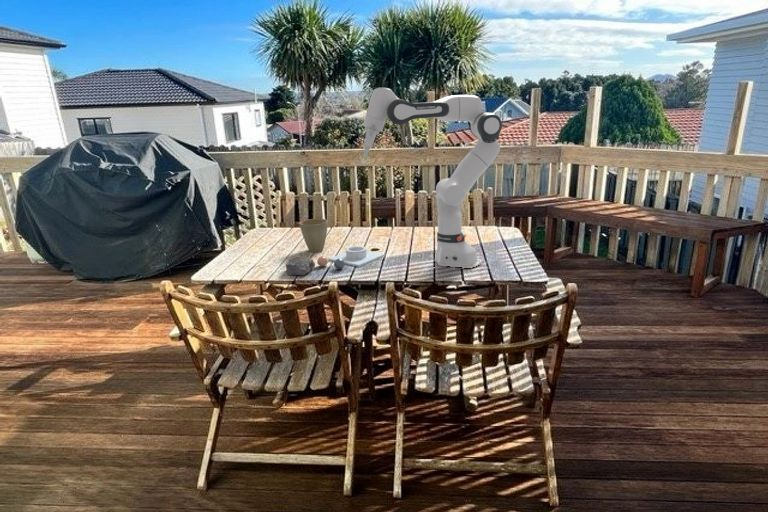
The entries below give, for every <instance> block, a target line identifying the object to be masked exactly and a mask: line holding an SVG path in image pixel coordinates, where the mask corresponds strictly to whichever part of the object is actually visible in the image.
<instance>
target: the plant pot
mask: <svg viewBox="0 0 768 512" xmlns="http://www.w3.org/2000/svg"><path fill="white" fill-rule="evenodd" d="M328 222H329V221H328V220H327V219H325V218H311V219H309V218H308V219H305V220H302V221H299V227H300V231H301V234H302V237H303V239H304V242H305V244H306V247H307V249H308V250H309V252H310V251H311V253H319V252H318V251H320V252H322V251H324V248H325V244H326V240H327V233H328Z"/></svg>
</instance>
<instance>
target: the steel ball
mask: <svg viewBox="0 0 768 512" xmlns="http://www.w3.org/2000/svg"><path fill="white" fill-rule="evenodd" d="M345 265H346V264H345V262H344V261H343V260H342V259H337V260H335V262H333V266H334V268H335V269H336V270H342V269H343V268H345Z"/></svg>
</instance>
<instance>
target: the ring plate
mask: <svg viewBox="0 0 768 512" xmlns="http://www.w3.org/2000/svg"><path fill="white" fill-rule="evenodd" d="M383 256H384V257H385V254H384V253H378V252H373V251H367V247H365V246H361V245H360V246H359V245H355V246H354V245H352V246H349V247H346V248H345V252H342V253H340V254H337V255H334V256H332V257H329V258H327V259H328V262H329V261H330V262H332V263H334V262H335V260H337V259H342V260H343V261H344V262H345V265H347V266H352V267H357V268H360V267H363V266H365V265H367V264H370V263H372V262H374V261H376V260H379V259H381V257H382V258H384V257H383Z"/></svg>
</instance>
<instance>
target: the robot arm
mask: <svg viewBox="0 0 768 512" xmlns="http://www.w3.org/2000/svg"><path fill="white" fill-rule="evenodd" d="M430 118H431V119H437V120H440V121H442V122H467V125H468V127H469V131H470V133H471V134H472V135H473V136H474V137H476V138H477V141H476V143H475V145H474V146H473V147H472V149H470V151H469V152H468V153H467V154H466V155H465V156H464V158H462V160H461V161H460V162H459V163H458V164H457V167H456V169H454V172H453V173H452V175H451V176H450V177H447V178H443V179H441V180H439V182H437V184H436V186H435V195H436V196H435V197H436V211H437V232H436V241H437V245H436V246H437V248H436V253H435V257H434V262H435V263H436V264H437V265H438V266H439V267H446V266H450V267H449V268H455V267H462V268H461V269H464V268H471V269H473V268H472V267H475V268H477V267H479V266H481V264H482V263H483V261H482V260H483V259H481V258H478V254H477V250H476V248H474V247H473V245H471V244H470V243H468V242H467V241H466V239H465V238H466V237H467V234H464V233H463V232H462V228H463V227H462V223H463V221H462V219H463V216H462V212H461V204H462V203H463V202H464V201H465V200H466V199H465V198H466V197H467V195H468V194H469V192H470V190H471V189H472V188H473V186H474V184H475V183H476V182H477V180H478V179H480V177H481V176H482V175H483V174H484V173H485V172H486V170H487V169H488V168H489V167H490V166H491V165H492V163H493V162H494V161H495V160H496V158H497V156H498V155H499V153H500V151H501V145H500V143H499V141H498V140H499V138H500V134H501V131H502V128H503V123H502V122H503V121H502V119H501V118H500V116H499V115H497V114H496V113H494V112H486V111H484V109H483V102H482V100H481V98H480V97H479V96H477V95H471V94H454V95H448V96H445V97H444V96H443V97H440V98H439V99H437V100H434V101H429V102H410V101H407V100H405V99H401V98H399V97H398V96H397V95H396V94H395V93H394V92H393V90H392V89H391V88H388V87H379V86H378V87H376V88H375V89H373V91H372V94H371V96H370V99H369V101H368V107H367V112H366V113H365V117H364V121H363V124H362V126H363V127H365V128H364V131H365V136H364V137H365V138H364V141H363V145H364V149H363V154H362V157H364V158H367V157H368V154H369V151H370V148H372V147H373V144H374V142H375V140H376V137H377V135H379V134H380V132H383V130H384V126H385V123H386V120H389V121H390V122H391V123H393V124H394V125H398V126H399V125H400V126H401V125H405V124H406V123H408V122H410V121H413V120H417V119H430ZM478 265H479V266H478ZM476 266H477V267H476Z"/></svg>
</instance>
